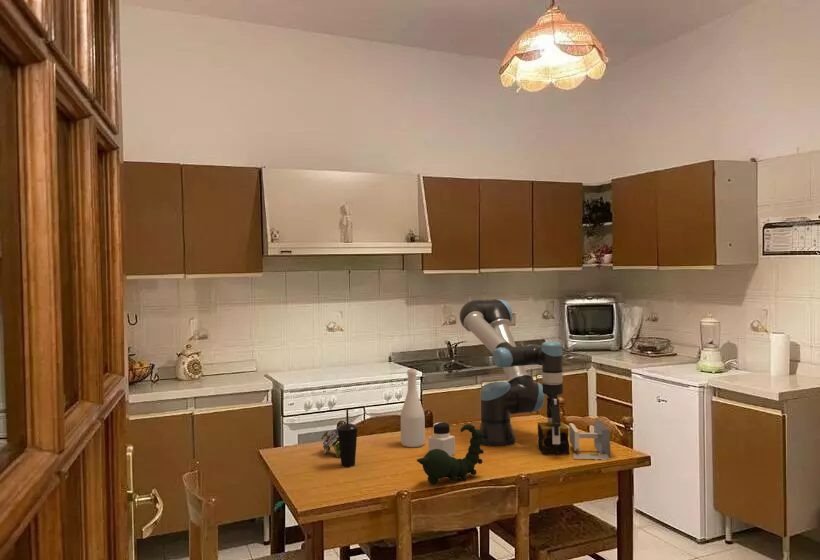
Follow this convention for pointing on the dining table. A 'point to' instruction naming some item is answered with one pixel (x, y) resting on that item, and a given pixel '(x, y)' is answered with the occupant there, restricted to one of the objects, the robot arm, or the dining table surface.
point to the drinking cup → (347, 442)
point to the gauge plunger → (578, 436)
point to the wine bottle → (412, 415)
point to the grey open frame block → (599, 443)
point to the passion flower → (331, 442)
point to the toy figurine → (453, 460)
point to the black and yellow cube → (546, 439)
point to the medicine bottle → (442, 439)
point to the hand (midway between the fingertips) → (553, 439)
